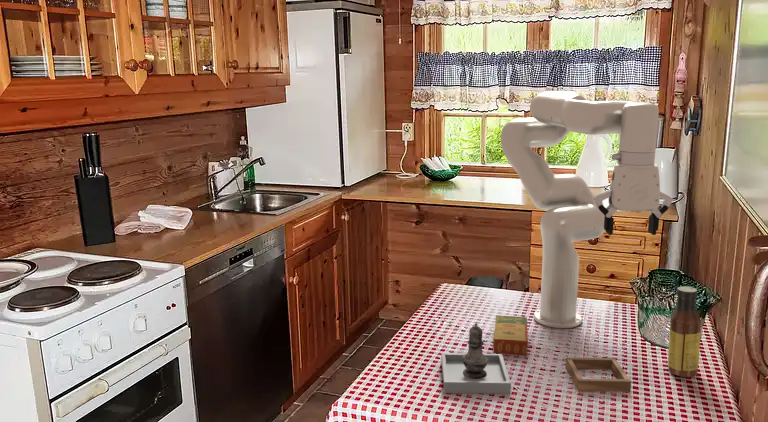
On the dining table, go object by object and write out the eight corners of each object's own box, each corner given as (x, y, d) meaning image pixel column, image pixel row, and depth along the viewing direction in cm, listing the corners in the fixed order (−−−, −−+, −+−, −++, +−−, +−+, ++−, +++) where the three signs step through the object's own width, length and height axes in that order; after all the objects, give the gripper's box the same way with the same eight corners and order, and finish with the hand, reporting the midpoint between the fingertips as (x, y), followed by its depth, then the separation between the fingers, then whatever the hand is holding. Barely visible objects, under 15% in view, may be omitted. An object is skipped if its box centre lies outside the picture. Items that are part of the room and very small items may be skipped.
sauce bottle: (698, 370, 142) (707, 287, 138) (696, 381, 137) (705, 295, 133) (667, 363, 145) (675, 282, 141) (663, 374, 140) (672, 290, 136)
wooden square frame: (565, 367, 144) (566, 357, 143) (614, 368, 143) (614, 358, 143) (578, 391, 133) (578, 380, 132) (630, 392, 133) (631, 381, 132)
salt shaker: (468, 381, 136) (469, 329, 133) (457, 369, 141) (458, 319, 139) (492, 377, 137) (494, 326, 135) (481, 365, 143) (482, 316, 140)
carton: (492, 354, 152) (492, 338, 151) (494, 328, 167) (495, 313, 166) (527, 357, 150) (528, 340, 149) (526, 330, 165) (527, 315, 164)
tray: (441, 362, 147) (441, 353, 146) (501, 363, 146) (501, 353, 145) (444, 392, 133) (444, 382, 132) (510, 393, 132) (510, 383, 132)
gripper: (601, 161, 136) (596, 237, 140) (683, 161, 135) (675, 237, 139) (592, 156, 143) (587, 229, 147) (669, 156, 142) (662, 229, 146)
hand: (630, 233), depth 143 cm, fingers open, 9 cm apart
